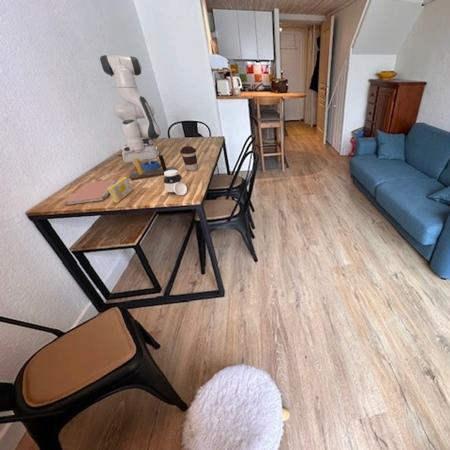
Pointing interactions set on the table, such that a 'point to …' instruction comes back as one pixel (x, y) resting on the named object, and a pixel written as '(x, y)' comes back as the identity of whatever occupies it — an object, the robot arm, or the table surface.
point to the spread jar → (174, 183)
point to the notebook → (91, 192)
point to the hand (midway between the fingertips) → (143, 166)
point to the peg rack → (150, 173)
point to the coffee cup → (189, 157)
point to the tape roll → (150, 167)
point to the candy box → (120, 189)
